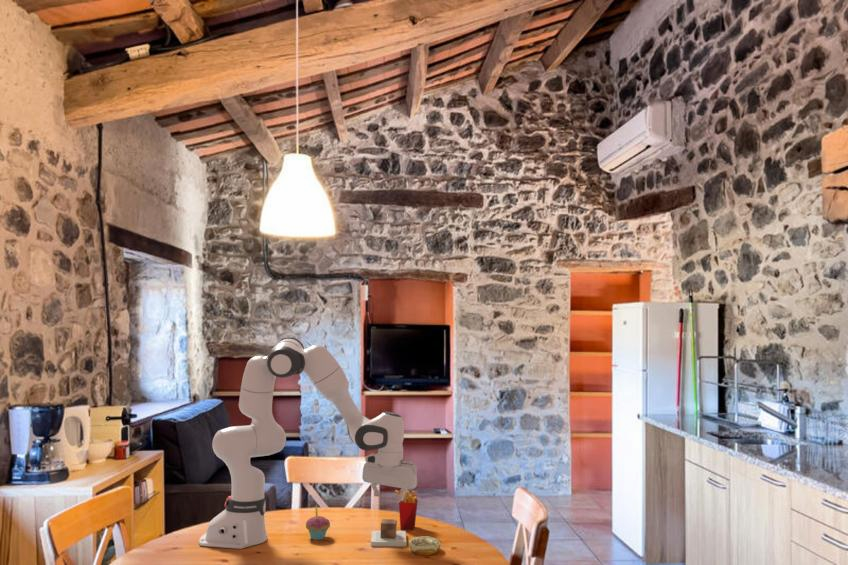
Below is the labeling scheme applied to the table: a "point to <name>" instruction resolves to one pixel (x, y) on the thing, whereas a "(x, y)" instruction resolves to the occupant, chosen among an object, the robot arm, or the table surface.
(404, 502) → the french fries
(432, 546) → the decorated donut
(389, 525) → the walnut cube
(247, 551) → the table surface
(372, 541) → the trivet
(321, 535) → the cupcake
